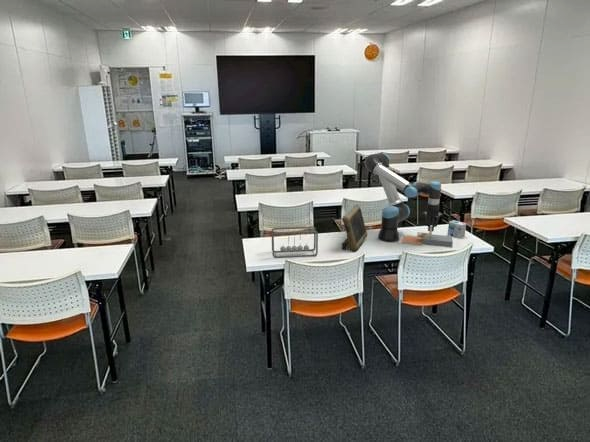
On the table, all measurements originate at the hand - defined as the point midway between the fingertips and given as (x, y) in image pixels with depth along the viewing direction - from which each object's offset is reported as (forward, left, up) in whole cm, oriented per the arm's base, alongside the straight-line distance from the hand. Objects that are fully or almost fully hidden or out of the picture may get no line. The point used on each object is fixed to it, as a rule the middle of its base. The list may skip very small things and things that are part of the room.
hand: (430, 235), depth 287 cm
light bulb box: (+19, +19, -6) cm, 27 cm away
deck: (+5, 0, -5) cm, 7 cm away
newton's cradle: (-87, -50, -6) cm, 100 cm away
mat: (-12, 0, -5) cm, 13 cm away
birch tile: (-5, 0, -1) cm, 5 cm away
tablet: (-51, -18, -6) cm, 55 cm away
